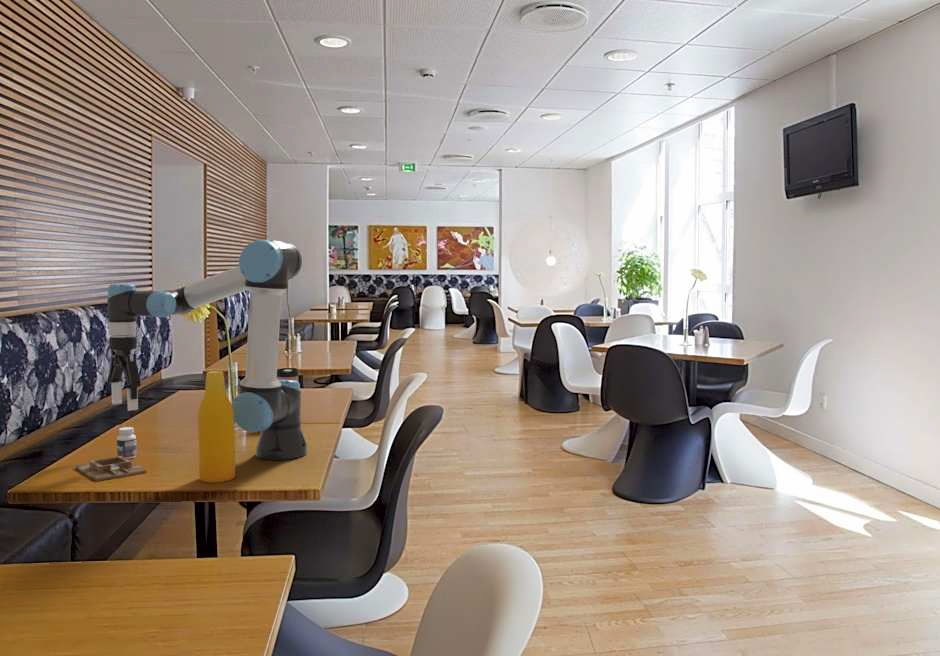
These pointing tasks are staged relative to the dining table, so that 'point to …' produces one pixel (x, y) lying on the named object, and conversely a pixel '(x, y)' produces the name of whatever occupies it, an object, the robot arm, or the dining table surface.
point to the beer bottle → (216, 432)
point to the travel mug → (287, 374)
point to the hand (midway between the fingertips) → (124, 406)
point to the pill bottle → (126, 443)
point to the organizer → (110, 468)
